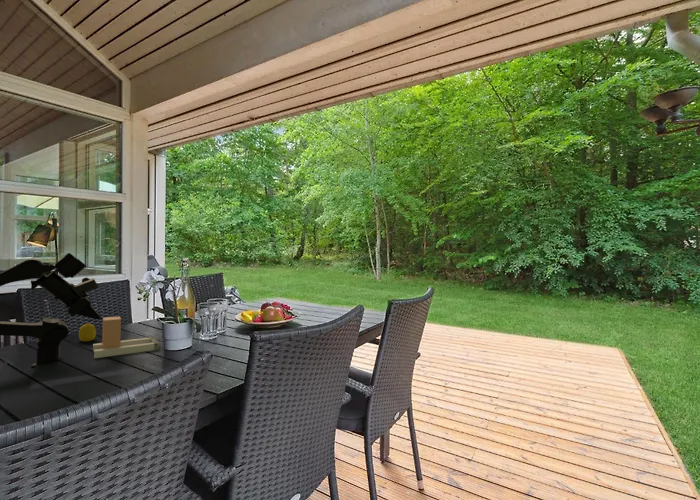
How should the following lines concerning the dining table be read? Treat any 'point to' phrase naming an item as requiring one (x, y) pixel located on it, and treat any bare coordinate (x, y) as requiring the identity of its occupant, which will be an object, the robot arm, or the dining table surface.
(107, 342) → the block
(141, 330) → the dining table surface
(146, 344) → the chute
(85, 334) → the lemon
